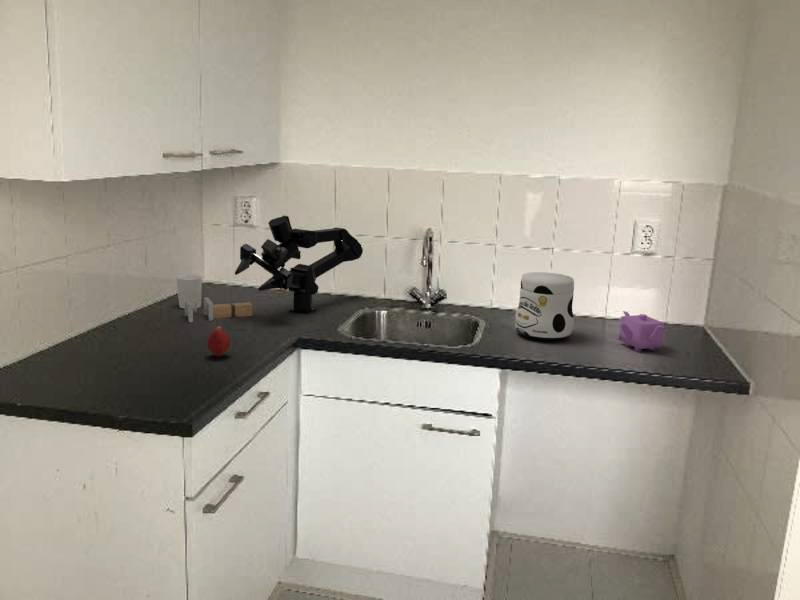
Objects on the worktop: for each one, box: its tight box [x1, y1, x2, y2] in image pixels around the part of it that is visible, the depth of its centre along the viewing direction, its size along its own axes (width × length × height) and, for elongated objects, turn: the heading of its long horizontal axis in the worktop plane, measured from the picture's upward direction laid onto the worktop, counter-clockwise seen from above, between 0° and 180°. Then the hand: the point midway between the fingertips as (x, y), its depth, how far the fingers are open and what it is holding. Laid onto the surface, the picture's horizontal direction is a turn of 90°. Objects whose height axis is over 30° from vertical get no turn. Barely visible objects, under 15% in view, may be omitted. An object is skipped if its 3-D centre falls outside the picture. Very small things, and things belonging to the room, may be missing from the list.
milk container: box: [514, 271, 575, 341], centre depth 214 cm, size 17×17×18 cm
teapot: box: [618, 310, 665, 353], centre depth 206 cm, size 18×13×10 cm
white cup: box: [175, 273, 203, 310], centre depth 232 cm, size 8×8×10 cm
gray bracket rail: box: [184, 296, 214, 323], centre depth 221 cm, size 7×11×5 cm, turn 25°
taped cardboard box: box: [213, 301, 254, 320], centre depth 224 cm, size 12×4×4 cm, turn 115°
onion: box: [206, 326, 231, 358], centre depth 184 cm, size 6×6×8 cm
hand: (246, 281), depth 212 cm, fingers open, 9 cm apart
